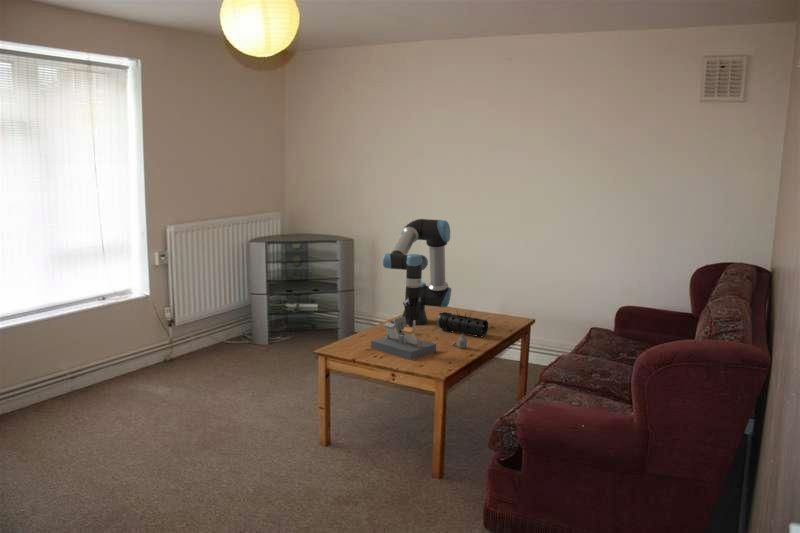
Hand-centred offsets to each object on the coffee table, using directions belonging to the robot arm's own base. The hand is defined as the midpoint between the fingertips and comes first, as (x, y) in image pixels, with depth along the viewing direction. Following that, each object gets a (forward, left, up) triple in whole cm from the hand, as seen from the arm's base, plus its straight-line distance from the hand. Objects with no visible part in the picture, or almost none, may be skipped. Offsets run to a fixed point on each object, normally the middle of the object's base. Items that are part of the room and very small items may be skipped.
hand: (412, 332), depth 330 cm
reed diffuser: (-25, +12, -11) cm, 30 cm away
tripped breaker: (-1, 0, -5) cm, 5 cm away
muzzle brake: (-49, -4, -11) cm, 51 cm away
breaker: (-1, -12, -5) cm, 14 cm away
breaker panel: (-1, -6, -11) cm, 12 cm away
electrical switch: (-22, -27, -11) cm, 37 cm away
